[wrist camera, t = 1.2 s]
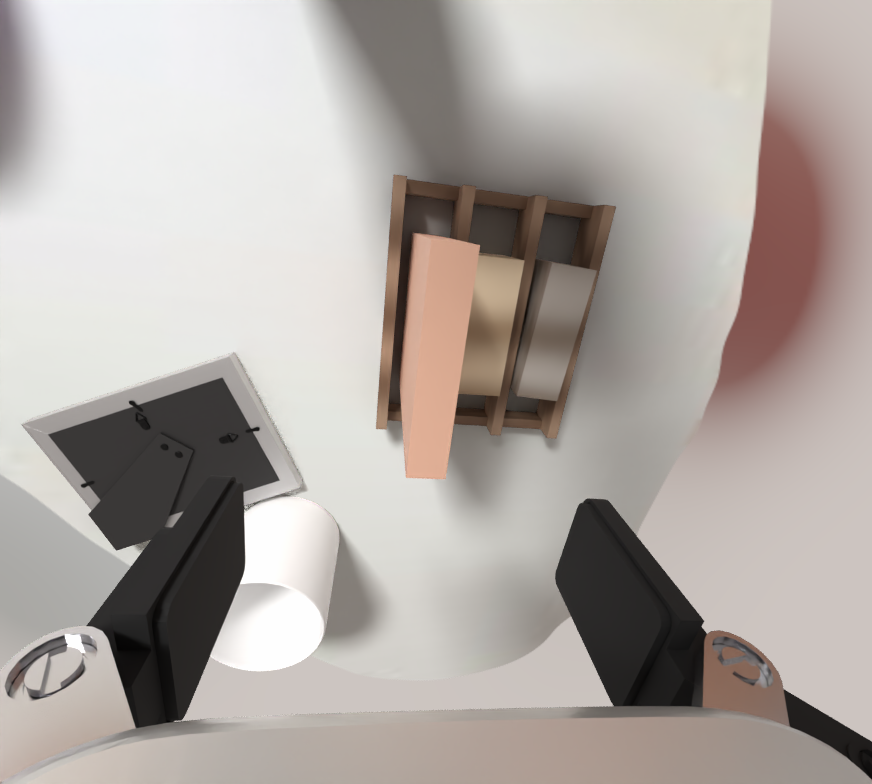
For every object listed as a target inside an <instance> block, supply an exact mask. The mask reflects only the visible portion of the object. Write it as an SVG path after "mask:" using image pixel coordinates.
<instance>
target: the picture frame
mask: <svg viewBox="0 0 872 784" xmlns="http://www.w3.org/2000/svg"><path fill="white" fill-rule="evenodd" d="M21 425H22V426H23V427H24V428H25V430H26V431H27V432H28V433H29V435H30V436H31V437H32V438H33V439H34V441H35V442H36V443H37V444H38V446H39V447H40V448H41V449H42V450H43V452H44V453H45V454H46V455H47V456H48V458H49V459H50V460H51V461H52V463H53V464H54V465H55V466H56V467H57V469H58V470H59V471H60V472H61V474H62V475H63V476H64V477H65V478H66V480H67V481H68V482H69V483H70V484H71V486H72V487H73V488H74V489H75V491H76V492H77V493H78V494H79V495H80V497H81V498H82V499H83V500H84V501H85V503H86V504H87V505H88V506H89V508H90V509H91V510H92V511H91V512H90V513H89V514H88V515H89V516H90V517H91V519H92V520H93V521H94V522H95V524H96V525H97V526H98V528H99V529H100V530H101V531H102V533H103V534H104V535H105V537H106V538H107V539H108V540H109V542H110V543H111V544H112V546H113V547H114V548H115V549H116V550H120V549H123V548H126V547H129V546H132V545H135V544H138V543H141V542H145V541H148V540H151V539H152V538H153V537H154V536H155V534H156V533H157V532H158V531H159V530H160V529H162V528H164V527H173V526H174V524H175V523H176V522H177V520H178V519H179V517H180V516H181V515H182V513H183V512H184V510H185V509H186V508H187V506H188V505H189V503H190V502H191V501H192V499H193V498H194V496H195V495H196V494H197V492H198V491H199V489H200V488H201V487H202V485H203V484H204V482H205V481H206V480H207V478H208V477H209V476H211V475H215V476H232V477H235V478H236V483H242V484H243V491H244V506H245V505H248V504H251V503H254V502H258V501H261V500H264V499H267V498H270V497H273V496H276V495H279V494H282V493H286V492H289V491H292V490H295V489H298V488H300V487H301V484H302V481H303V479H302V478H301V476H300V474H299V472H298V470H297V468H296V466H295V464H294V463H293V461H292V459H291V457H290V455H289V453H288V451H287V449H286V448H285V446H284V444H283V442H282V440H281V438H280V436H279V434H278V433H277V431H276V429H275V427H274V425H273V423H272V421H271V419H270V417H269V416H268V414H267V412H266V410H265V408H264V406H263V404H262V402H261V401H260V399H259V397H258V395H257V393H256V391H255V389H254V387H253V386H252V384H251V382H250V380H249V378H248V376H247V374H246V372H245V371H244V369H243V367H242V365H241V363H240V361H239V359H238V357H237V356H236V354H235V352H233V353H230V354H227V355H224V356H221V357H218V358H215V359H212V360H208V361H205V362H202V363H199V364H196V365H193V366H190V367H187V368H184V369H181V370H178V371H175V372H172V373H169V374H166V375H163V376H159V377H156V378H153V379H150V380H147V381H144V382H141V383H138V384H135V385H132V386H129V387H126V388H123V389H120V390H117V391H114V392H110V393H107V394H104V395H101V396H98V397H95V398H92V399H89V400H86V401H83V402H80V403H77V404H74V405H71V406H68V407H65V408H61V409H58V410H55V411H52V412H49V413H46V414H43V415H40V416H37V417H34V418H32V419H30V420H28V421H26V422H24V423H23V424H21Z"/></svg>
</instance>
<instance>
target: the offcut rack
mask: <svg viewBox="0 0 872 784" xmlns="http://www.w3.org/2000/svg"><path fill="white" fill-rule="evenodd" d="M405 194H406V195H413V196H420V197H427V198H435V199H442V200H449V201H454V209H453V217H452V225H451V234H450V238H451V239H455V240H460V241H464V242H468V241H469V234H470V227H471V220H472V212H473V205H474V204H478V205H485V206H493V207H500V208H507V209H514V210H519V214H518V219H517V225H516V231H515V236H514V242H513V248H512V253H511V257H513V258H517V259H520V260H524V266H523V272H522V277H521V282H520V288H519V293H518V299H517V304H516V310H515V315H514V321H513V326H512V332H511V337H510V342H509V348H508V353H507V359H506V364H505V370H504V375H503V381H502V386H501V391H500V396H487V395H486V400H485V406H484V409H470V408H456V412H455V418H454V424H461V425H479V426H487V428H488V430H489V432H490V434H491V435H501V430H502V427H514V428H532V429H541V430H542V432H543V433H544V434H545V436H546V437H547V438H557V434H558V430H559V426H560V422H561V418H562V414H563V410H564V407H565V403H566V399H567V395H568V391H569V387H570V383H571V379H572V376H573V372H574V368H575V364H576V360H577V356H578V352H579V348H580V345H581V341H582V337H583V333H584V329H585V325H586V321H587V317H588V313H589V310H590V306H591V302H592V298H593V294H594V290H595V286H596V282H597V279H598V275H599V271H600V267H601V263H602V259H603V255H604V251H605V248H606V244H607V240H608V236H609V232H610V228H611V224H612V220H613V216H614V213H615V209H616V207H615V206H608V205H600V206H590V205H583V204H576V203H569V202H562V201H555V200H548V197H546V196H539V195H534V196H529V197H527V196H520V195H513V194H506V193H499V192H492V191H485V190H478V189H476V186H469V185H462V186H460V187H457V186H450V185H443V184H436V183H429V182H422V181H415V180H408V179H407V176H400V175H394V177H393V190H392V205H391V219H390V234H389V248H388V262H387V277H386V291H385V306H384V320H383V334H382V349H381V363H380V378H379V392H378V407H377V422H376V429H387V420H391V421H402V412H401V404H391V403H389V391H390V379H391V366H392V354H393V342H394V329H395V317H396V304H397V292H398V279H399V267H400V254H401V242H402V229H403V217H404V204H405ZM544 214H551V215H558V216H565V217H573V218H580V219H581V220H580V225H579V229H578V233H577V238H576V242H575V246H574V251H573V255H572V259H571V264H570V265H574V266H578V267H583V268H587V269H591V270H596V271H597V272H596V276H595V279H594V282H593V285H592V289H591V292H590V295H589V298H588V302H587V305H586V308H585V311H584V315H583V318H582V321H581V325H580V328H579V331H578V334H577V338H576V341H575V344H574V347H573V351H572V354H571V357H570V360H569V364H568V367H567V370H566V374H565V377H564V380H563V383H562V387H561V390H560V393H559V396H558V400H557V401H551V400H543V399H539V402H538V407H537V411H536V413H534V412H518V411H505V410H506V405H507V400H508V395H509V390H510V385H511V380H512V375H513V370H514V365H515V360H516V355H517V350H518V345H519V339H520V334H521V329H522V324H523V319H524V314H525V309H526V304H527V299H528V294H529V289H530V284H531V279H532V274H533V269H534V264H535V259H536V254H537V249H538V244H539V239H540V234H541V229H542V224H543V219H544Z"/></svg>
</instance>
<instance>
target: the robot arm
mask: <svg viewBox="0 0 872 784" xmlns="http://www.w3.org/2000/svg"><path fill="white" fill-rule="evenodd" d="M245 562H246V560H245V525H244V491H243V484H242V483H236V478H235V477H232V476H215V475H211V476H209V477H208V478H207V480H206V481H205V482H204V484H203V485H202V487H201V488H200V489H199V491H198V492H197V494H196V495H195V496H194V498H193V499H192V501H191V502H190V503H189V505H188V506H187V508H186V509H185V510H184V512H183V513H182V515H181V516H180V517H179V519H178V520H177V522H176V523H175V524H174V526H173V527H164V528H162V529H160V530H159V531H158V532H157V533H156V534H155V536H154V537H153V538H152V540H151V541H150V542H149V544H148V545H147V546H146V548H145V549H144V550H143V552H142V553H141V554H140V556H139V557H138V558H137V560H136V561H135V562H134V564H133V565H132V566H131V568H130V569H129V570H128V572H127V573H126V574H125V576H124V577H123V578H122V580H121V581H120V582H119V583H118V585H117V586H116V587H115V589H114V590H113V591H112V593H111V594H110V595H109V597H108V598H107V599H106V601H105V602H104V604H103V605H102V606H101V607H100V609H99V610H98V611H97V613H96V614H95V615H94V617H93V618H92V619H91V621H90V622H89V623H88V625H87V626H76V627H69V628H64V629H61V630H58V631H56V632H53V633H50V634H47V635H45V636H44V637H41V638H39V639H38V640H36V641H34V642H32V643H30V644H29V645H27V646H26V647H25V648H23V649H22V650H21V651H19V652H18V653H17V654H15V655H14V656H13V657H12V658H11V659H10V660H9V661H8V662H7V663H6V664H5V665H4V666H3V667H2V668H1V670H0V784H872V742H871V741H870V740H868V739H866V738H865V737H863V736H861V735H860V734H858V733H856V732H854V731H853V730H851V729H850V728H848V727H846V726H844V725H843V724H841V723H839V722H838V721H836V720H834V719H833V718H831V717H829V716H828V715H826V714H824V713H823V712H821V711H819V710H818V709H816V708H814V707H812V706H811V705H809V704H807V703H806V702H804V701H802V700H801V699H799V698H797V697H796V696H794V695H792V694H791V693H789V692H787V691H786V690H784V689H783V685H782V680H781V678H780V675H779V673H778V671H777V670H776V668H775V667H774V665H773V664H772V662H771V661H770V660H769V659H768V658H767V657H766V656H765V655H764V654H763V653H762V652H761V651H759V650H758V649H757V648H756V647H754V646H753V645H752V644H751V643H749V642H747V641H745V640H744V639H742V638H741V637H738V636H736V635H734V634H731V633H729V632H724V631H711V632H709V633H708V634H707V633H706V632H705V631H704V629H703V628H702V627H701V626H702V624H703V622H704V620H703V619H702V618H701V616H700V615H699V614H698V613H697V611H696V610H695V609H694V608H693V607H692V605H691V604H690V603H689V601H688V600H687V599H686V598H685V596H684V595H683V594H682V593H681V591H680V590H679V589H678V587H677V586H676V585H675V584H674V583H673V581H672V580H671V579H670V577H669V576H668V575H667V574H666V572H665V571H664V570H663V569H662V568H661V566H660V565H659V564H658V562H657V561H656V560H655V559H654V557H653V556H652V555H651V554H650V552H649V551H648V550H647V549H646V547H645V546H644V545H643V544H642V542H641V541H640V540H639V539H638V537H637V536H636V535H635V533H634V532H633V531H632V530H631V528H630V527H629V526H628V525H627V523H626V522H625V521H624V520H623V518H622V517H621V516H620V515H619V513H618V512H617V511H616V510H615V508H614V507H613V506H612V505H611V503H610V502H609V501H608V500H604V499H586V500H585V501H584V502H583V503H581V504H579V506H578V508H577V511H576V514H575V517H574V520H573V522H572V525H571V528H570V531H569V534H568V537H567V540H566V543H565V546H564V549H563V552H562V555H561V558H560V561H559V564H558V567H557V570H556V574H555V579H556V584H557V587H558V589H559V591H560V593H561V595H562V597H563V600H564V602H565V604H566V606H567V608H568V610H569V612H570V615H571V617H572V619H573V621H574V623H575V625H576V627H577V630H578V632H579V634H580V636H581V638H582V640H583V642H584V645H585V647H586V649H587V651H588V653H589V655H590V657H591V660H592V662H593V664H594V666H595V668H596V670H597V673H598V675H599V677H600V679H601V681H602V683H603V685H604V687H605V690H606V692H607V694H608V696H609V698H610V700H611V702H612V703H613V705H614V706H613V707H559V708H558V707H557V708H512V709H510V708H509V709H468V710H431V711H430V710H429V711H395V712H394V711H392V712H363V713H362V712H361V713H329V714H328V713H327V714H295V715H273V716H253V717H233V718H212V719H201V720H191V721H181V722H174V721H176V720H177V721H178V720H182V719H183V718H184V716H185V714H186V712H187V710H188V708H189V705H190V703H191V700H192V698H193V696H194V693H195V691H196V688H197V686H198V683H199V681H200V679H201V676H202V674H203V671H204V669H205V666H206V664H207V662H208V659H209V657H210V655H211V652H212V650H213V647H214V645H215V643H216V640H217V638H218V635H219V633H220V631H221V628H222V626H223V623H224V621H225V618H226V616H227V614H228V611H229V609H230V606H231V604H232V602H233V599H234V597H235V594H236V592H237V590H238V587H239V585H240V582H241V580H242V577H243V574H244V570H245Z"/></svg>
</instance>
